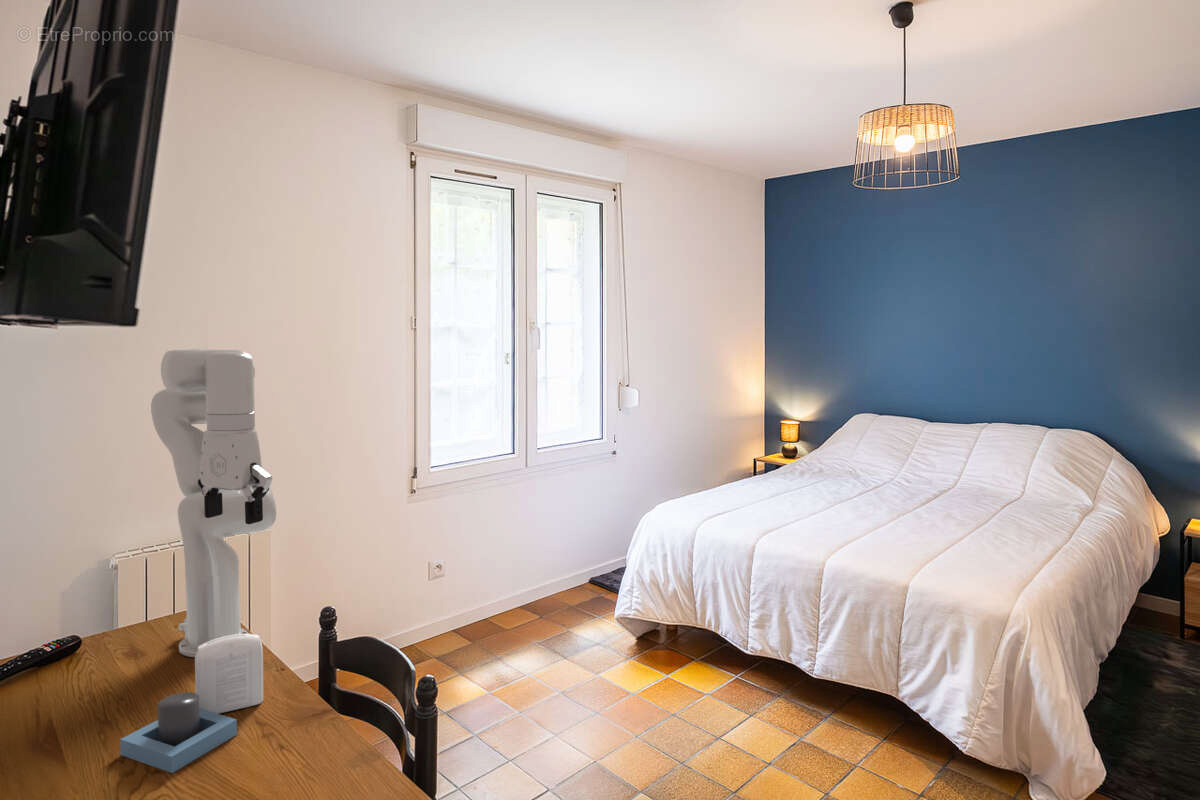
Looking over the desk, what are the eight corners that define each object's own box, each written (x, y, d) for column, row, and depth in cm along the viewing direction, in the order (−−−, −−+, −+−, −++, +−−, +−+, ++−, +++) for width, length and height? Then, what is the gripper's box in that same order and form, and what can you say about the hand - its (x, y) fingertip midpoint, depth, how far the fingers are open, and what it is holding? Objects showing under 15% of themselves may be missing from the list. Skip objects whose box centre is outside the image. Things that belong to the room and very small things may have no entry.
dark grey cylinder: (150, 750, 109) (148, 705, 108) (183, 731, 114) (182, 689, 113) (176, 758, 107) (174, 713, 106) (208, 739, 112) (207, 696, 111)
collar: (120, 755, 108) (120, 739, 107) (187, 719, 118) (187, 704, 117) (172, 773, 103) (171, 756, 103) (237, 734, 114) (236, 719, 113)
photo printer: (261, 693, 126) (260, 625, 125) (265, 704, 123) (264, 634, 122) (194, 709, 121) (192, 638, 120) (197, 721, 117) (194, 648, 116)
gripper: (176, 422, 125) (179, 518, 127) (249, 428, 119) (252, 530, 120) (214, 418, 132) (216, 509, 134) (285, 423, 126) (287, 520, 127)
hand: (233, 519), depth 127 cm, fingers open, 9 cm apart
